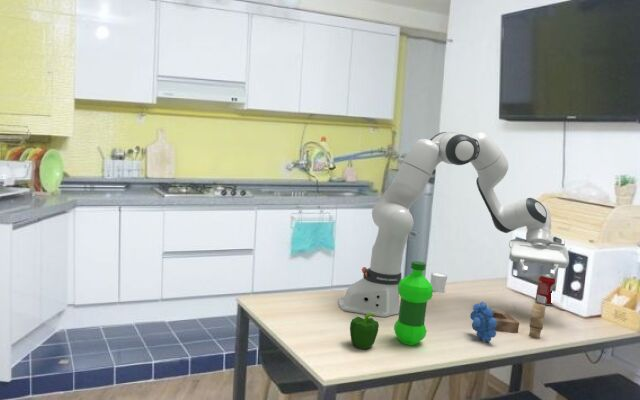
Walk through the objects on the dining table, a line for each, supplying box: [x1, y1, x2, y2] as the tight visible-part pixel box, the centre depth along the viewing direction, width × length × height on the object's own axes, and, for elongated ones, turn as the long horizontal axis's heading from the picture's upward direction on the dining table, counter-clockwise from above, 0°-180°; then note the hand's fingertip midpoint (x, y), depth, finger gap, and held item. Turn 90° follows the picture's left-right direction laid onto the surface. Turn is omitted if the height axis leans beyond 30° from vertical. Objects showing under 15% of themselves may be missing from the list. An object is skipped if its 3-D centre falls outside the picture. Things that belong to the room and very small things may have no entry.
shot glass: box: [430, 272, 448, 293], centre depth 230 cm, size 7×7×7 cm
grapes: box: [470, 301, 497, 343], centre depth 177 cm, size 12×7×12 cm, turn 25°
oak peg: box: [528, 302, 547, 339], centre depth 185 cm, size 4×4×11 cm
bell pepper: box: [349, 313, 380, 350], centre depth 161 cm, size 8×8×10 cm
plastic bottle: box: [393, 260, 434, 346], centre depth 167 cm, size 10×10×25 cm
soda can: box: [535, 273, 556, 307], centre depth 227 cm, size 7×7×12 cm
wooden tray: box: [492, 309, 520, 334], centre depth 193 cm, size 12×12×4 cm
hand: (538, 273), depth 196 cm, fingers open, 8 cm apart
